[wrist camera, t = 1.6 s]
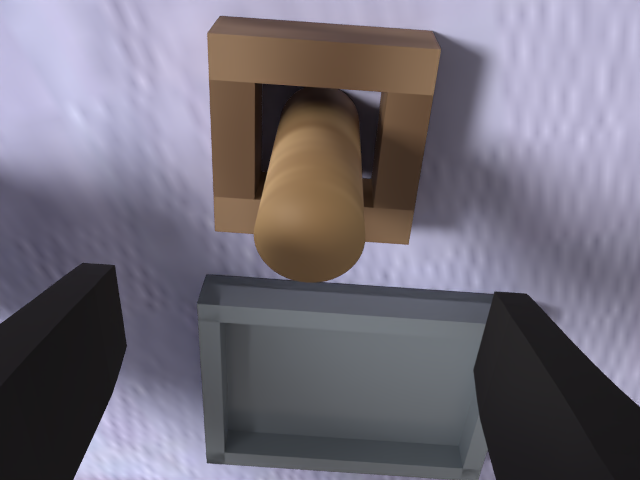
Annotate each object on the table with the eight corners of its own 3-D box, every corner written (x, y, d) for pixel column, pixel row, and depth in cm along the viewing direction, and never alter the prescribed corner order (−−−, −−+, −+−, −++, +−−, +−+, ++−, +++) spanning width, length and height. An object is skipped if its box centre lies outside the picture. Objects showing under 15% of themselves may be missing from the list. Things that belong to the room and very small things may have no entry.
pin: (279, 156, 21) (253, 278, 15) (281, 81, 19) (254, 184, 14) (355, 161, 21) (359, 286, 15) (363, 88, 19) (370, 192, 14)
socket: (225, 201, 22) (215, 231, 20) (219, 15, 18) (207, 33, 17) (403, 213, 22) (408, 244, 20) (432, 30, 18) (441, 49, 17)
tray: (214, 430, 29) (206, 463, 27) (206, 274, 24) (196, 303, 22) (470, 447, 29) (477, 481, 27) (515, 296, 24) (527, 326, 22)
